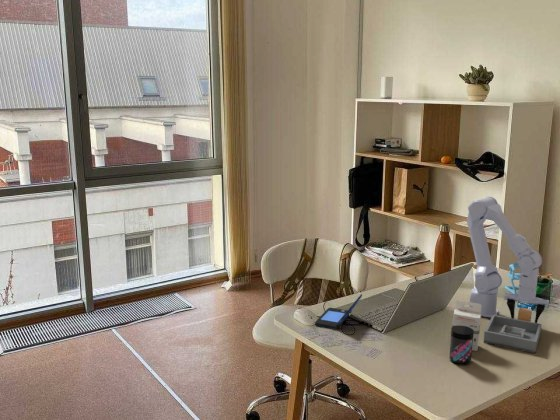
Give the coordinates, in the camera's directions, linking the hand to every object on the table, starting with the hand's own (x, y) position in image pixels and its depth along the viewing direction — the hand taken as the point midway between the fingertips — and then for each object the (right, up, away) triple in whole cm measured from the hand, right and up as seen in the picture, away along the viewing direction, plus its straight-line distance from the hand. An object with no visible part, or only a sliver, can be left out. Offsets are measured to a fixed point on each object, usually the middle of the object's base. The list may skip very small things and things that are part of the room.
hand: (524, 321), depth 202 cm
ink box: (-26, -5, -15) cm, 31 cm away
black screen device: (-66, -1, +5) cm, 66 cm away
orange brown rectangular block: (0, -2, 0) cm, 2 cm away
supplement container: (-31, -7, -25) cm, 41 cm away
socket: (-8, -4, -10) cm, 13 cm away
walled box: (-8, -4, -10) cm, 13 cm away
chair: (+11, +6, +33) cm, 36 cm away
